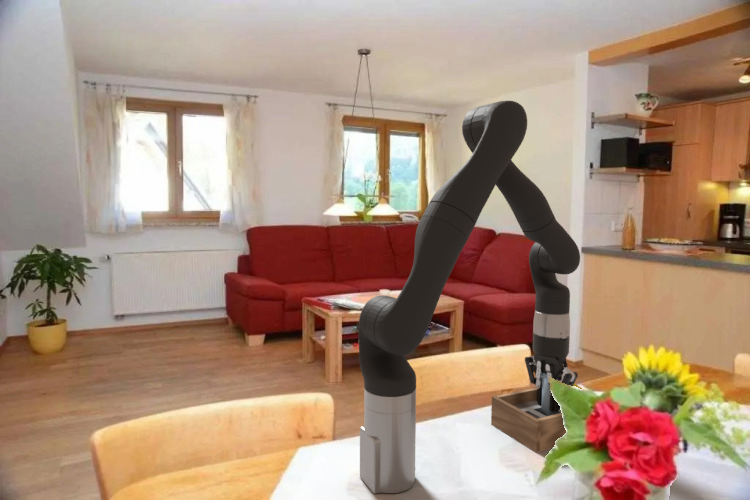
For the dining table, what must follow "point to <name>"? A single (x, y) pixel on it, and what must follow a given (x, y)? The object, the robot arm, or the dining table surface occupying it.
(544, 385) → the dowel
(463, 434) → the dining table surface
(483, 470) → the dining table surface
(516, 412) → the crate
